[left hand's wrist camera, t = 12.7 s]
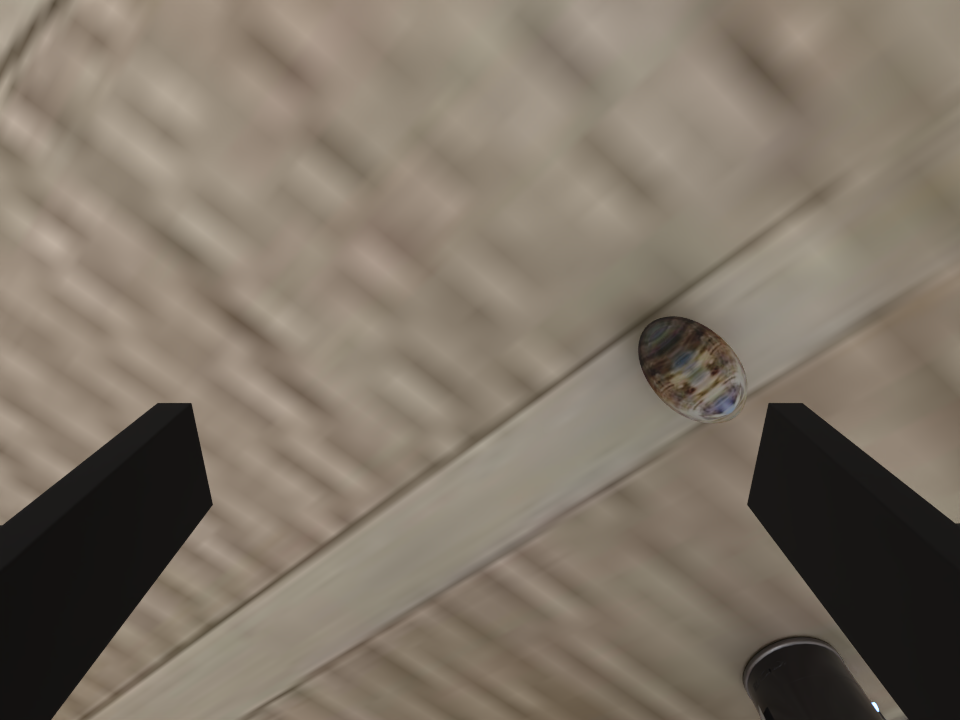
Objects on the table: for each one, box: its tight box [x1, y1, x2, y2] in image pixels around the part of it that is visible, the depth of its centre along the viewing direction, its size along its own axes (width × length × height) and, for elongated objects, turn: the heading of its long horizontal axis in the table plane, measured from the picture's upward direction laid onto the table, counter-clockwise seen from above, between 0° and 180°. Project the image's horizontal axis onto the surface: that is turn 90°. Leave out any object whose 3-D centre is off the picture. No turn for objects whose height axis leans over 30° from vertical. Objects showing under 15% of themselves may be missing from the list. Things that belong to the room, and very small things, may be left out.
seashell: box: [638, 317, 747, 423], centre depth 38 cm, size 10×6×8 cm, turn 45°
